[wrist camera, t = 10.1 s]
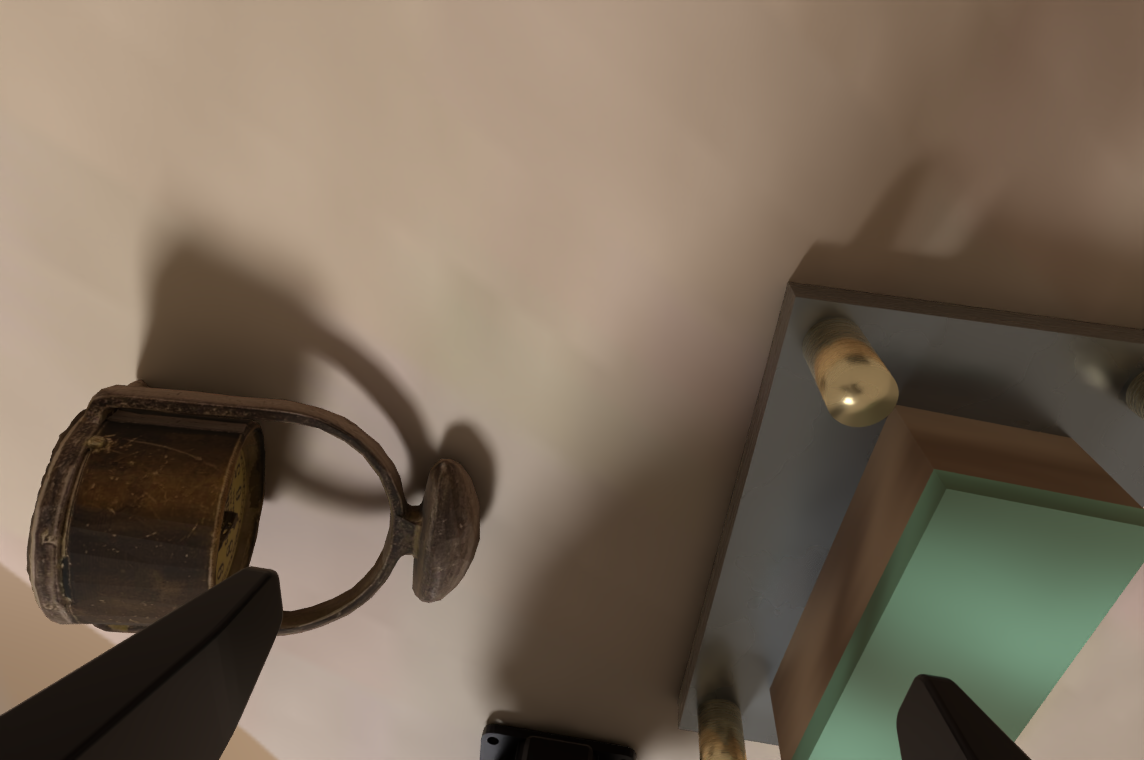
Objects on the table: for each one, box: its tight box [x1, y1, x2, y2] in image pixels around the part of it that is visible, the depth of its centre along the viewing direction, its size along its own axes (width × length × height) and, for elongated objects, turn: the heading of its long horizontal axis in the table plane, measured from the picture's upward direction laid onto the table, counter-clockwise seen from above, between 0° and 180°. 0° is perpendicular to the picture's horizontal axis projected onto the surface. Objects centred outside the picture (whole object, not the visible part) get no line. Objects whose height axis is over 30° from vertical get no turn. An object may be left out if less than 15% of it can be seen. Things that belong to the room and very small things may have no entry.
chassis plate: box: [678, 282, 1144, 760], centre depth 21 cm, size 18×11×4 cm, turn 174°
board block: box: [769, 405, 1144, 760], centre depth 20 cm, size 12×5×4 cm, turn 171°
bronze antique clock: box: [27, 380, 480, 636], centre depth 21 cm, size 7×13×10 cm
